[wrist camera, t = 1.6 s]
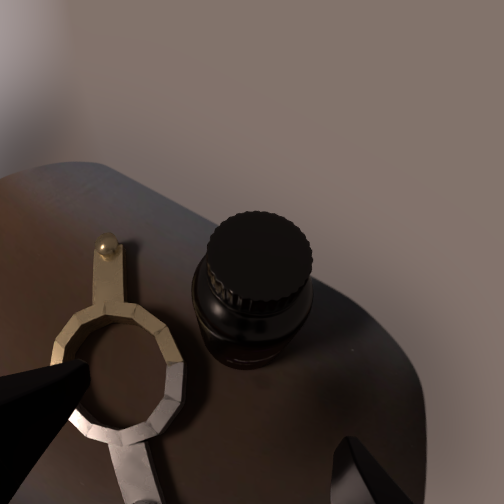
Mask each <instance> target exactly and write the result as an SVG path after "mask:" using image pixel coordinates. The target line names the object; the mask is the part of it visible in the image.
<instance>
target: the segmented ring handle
mask: <svg viewBox="0 0 504 504" xmlns="http://www.w3.org/2000/svg"><path fill="white" fill-rule="evenodd" d="M170 362H171V361H170ZM171 363H173V362H171ZM167 364H169V363H167ZM170 365H171V366H169V367H168V365H167V371H166V384H165V396H164V398H163V399H162V401H161V402H160V403H159V405H158V406H157V408H156V409H155V410H154V412H153V413H152V414H151V416H150V417H149V419H148V420H147V421H146V422H143V423H140V424H138V425H135V426H132V427H129V428H126V429H121V428H117V427H113V426H109V425H105V424H101V423H100V422H99V421H98V420H97V419H96V418H95V417H94V416H93V415H91V414H90V413H89V412H88V411H87V410H86V409H85V408H84V407H83V406H82V405H81V403H80V402H79V404H78V406H77V407H76V409H75V411H74V412H73V414H72V415H71V417H70V418H69V420H70V421H71V422H72V423H73V424H74V425H75V426H76V427H77V428H78V429H79V430H80V431H81V432H82V433H83V434H84V435H85V436H87V437H89V438H92V439H95V440H99V441H102V442H106V443H109V444H108V445H109V449H110V453H111V458H112V461H113V465H114V469H115V473H116V476H117V480H118V483H119V486H120V489H121V493H122V496H123V499H124V502H125V504H167V503H166V501H165V498H164V495H163V492H162V488H161V485H160V482H159V479H158V475H157V472H156V468H155V465H154V461H153V458H152V454H151V450H150V446H149V442H148V441H144V442H140V441H143V440H146V439H149V438H152V437H154V436H157V435H160V434H162V433H163V432H165V431H166V430H167V428H168V427H169V426H170V424H171V423H172V421H173V420H174V419H175V417H176V416H177V414H178V413H179V412H180V410H181V409H182V407H183V406H184V405H185V404H184V403H182V402H185V401H186V384H187V369H188V367H187V366H186V365H185V364H184V363H181V362H179V363H178V362H176V363H175V365H172V364H170Z"/></svg>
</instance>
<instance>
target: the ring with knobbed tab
mask: <svg viewBox="0 0 504 504" xmlns="http://www.w3.org/2000/svg"><path fill="white" fill-rule="evenodd" d="M95 248H96V250H94V266H93V306H90V307H88V308H86V309H84V310H81V311H79V312H77V313H76V315H75V314H74V315H73V316H72V318H71V319H70V320H69V322H68V323H67V324H66V326H65V327H64V328H63V330H62V331H61V332H60V334H59V335H58V336H57V338H56V339H55V340H56V341H55V342H54V347H53V353H52V359H51V365H55V364H59V363H63V362H67V361H71V360H74V359H75V355H76V352H77V350H78V349H79V347H80V346H81V345H82V343H83V342H84V341H85V339H86V338H87V337H88V335H89V334H90V333H91V332H92V331H95V330H97V329H99V328H102V327H104V326H106V325H109V324H111V323H113V322H115V323H122V324H130V325H138V326H140V327H141V328H143V329H144V330H145V331H146V332H148V333H149V334H150V335H152V336H153V337H154V338H156V340H157V343H158V345H159V347H160V350H161V352H162V354H163V356H164V358H165V361H166V363H169V364H167V365H168V367H169V366H171V365H170V364H172V365H175V363H176V362H178V363H179V362H181V363H184V364H185V365H186V366H187V364H186V362H185V360H184V357H183V355H182V353H181V351H180V349H179V347H178V345H177V343H176V341H175V338H174V336H173V334H172V332H171V331H170V330H169V328H168V327H167V325H165V324H164V323H163V322H161V321H160V320H158V319H157V318H156V317H154V316H153V315H152V314H150V313H149V312H148V311H146V310H145V309H144V308H142V307H141V306H140V305H137V304H133V303H128V295H127V271H126V250H125V248H124V246H123V244H121V245H120V244H119V243H118V241H117V239H116V237H115V235H114V234H112V233H104V234H102V235H100V236H99V237H98V238H97V240H96V242H95ZM170 361H171V362H173V363H171V362H170ZM51 365H50V366H51Z"/></svg>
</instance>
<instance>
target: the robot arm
mask: <svg viewBox="0 0 504 504" xmlns="http://www.w3.org/2000/svg"><path fill="white" fill-rule="evenodd" d="M90 382H91V377H90V370H89V365H88V363H87V362H85V361H83V360H81V359H74V360H71V361H67V362H63V363H59V364H55V365H51V366H47V367H42V368H38V369H34V370H30V371H25V372H21V373H16V374H11V375H7V376H2V377H0V504H8V503H9V502H10V500H11V499H12V497H13V496H14V495H15V493H16V492H17V490H18V489H19V487H20V485H21V484H22V483H23V481H24V480H25V478H26V477H27V475H28V474H29V472H30V471H31V470H32V468H33V467H34V465H35V464H36V463H37V461H38V460H39V458H40V457H41V456H42V454H43V453H44V452H45V450H46V449H47V447H48V446H49V445H50V443H51V442H52V441H53V439H54V438H55V437H56V435H57V434H58V433H59V431H60V430H61V429H62V427H63V426H64V425H65V423H66V422H67V421H68V419H69V418H70V417H71V415H72V414H73V412H74V411H75V409H76V407H77V406H78V404H79V402H80V400H81V399H82V397H83V395H84V394H85V392H86V390H87V389H88V387H89V385H90ZM331 504H415V503H414V502H413V501H411V499H410V498H409V497H408V496H407V495H406V494H405V492H404V491H403V490H402V489H401V488H400V487H399V486H398V485H397V483H396V482H395V481H394V480H393V479H392V478H391V477H390V475H389V474H388V473H387V472H386V471H385V470H384V468H383V467H382V466H381V465H380V464H379V463H378V461H377V460H376V459H375V458H374V457H373V456H372V454H371V453H370V452H369V451H368V450H367V448H366V447H365V446H364V445H363V444H362V443H361V441H360V440H359V439H358V438H357V437H351V436H346V437H344V438H343V440H342V441H341V443H340V444H339V445H338V447H337V448H336V450H335V452H334V457H333V469H332V480H331Z"/></svg>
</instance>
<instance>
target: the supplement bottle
mask: <svg viewBox="0 0 504 504" xmlns="http://www.w3.org/2000/svg"><path fill="white" fill-rule="evenodd" d="M312 262H313V258H312V250H311V248H310V243H309V241H307V239H306V236H305V234H303V233H302V232H301V230H300V228H299V227H297V226H295V225H294V224H293V222H291V221H289V220H287V219H285V218H284V217H282V216H278V215H277V214H275V213H268V212H260V211H253V212H248V211H246V212H244V213H238V214H236V215H235V216H232V217H229V218H228V219H227V220H226V221H223V222H222V223H221V224H220V226H218V227H217V228H215V231H214V233H213V234H212V235H211V236H210V241H209V242H208V244H207V252H206V255H205V256H204V257H203V258H202V260H201V261H200V262H199V264H198V266H197V268H196V270H195V273H194V276H193V280H192V288H191V292H192V302H193V306H194V310H195V314H196V317H197V321H198V324H199V328H200V331H201V335H202V338H203V341H204V343H205V346H206V347H207V349H208V351H209V352H210V353H211V355H212V356H213V357H214V358H215V359H216V360H218V361H219V362H220V363H222V364H223V365H225V366H228V367H230V368H233V369H238V370H252V369H257V368H260V367H262V366H265V365H266V364H268V363H270V362H271V361H272V360H274V359H275V358H276V357H277V356H278V355H279V354H280V353H281V351H282V350H283V349H284V348H285V347H286V346H287V344H288V343H289V342H290V341H291V340H292V338H293V337H294V336H295V335H296V334H297V332H298V331H299V330H300V329H301V327H302V326H303V324H304V323H305V321H306V319H307V317H308V315H309V313H310V310H311V307H312V302H313V285H312V281H311V277H310V273H311V271H312Z"/></svg>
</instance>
